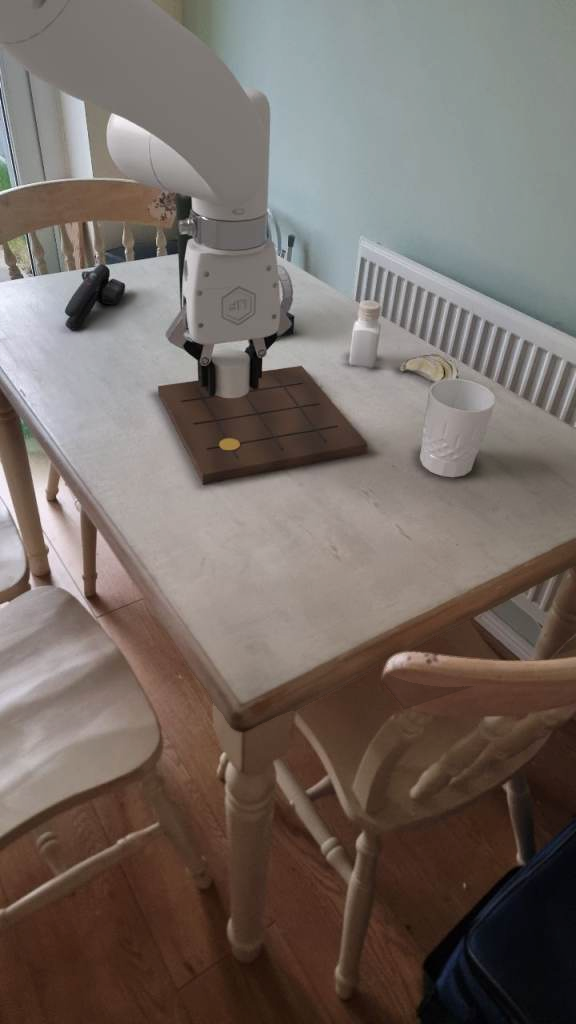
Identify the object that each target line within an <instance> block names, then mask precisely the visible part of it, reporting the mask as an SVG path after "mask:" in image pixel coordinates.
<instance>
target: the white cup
mask: <svg viewBox="0 0 576 1024" xmlns="http://www.w3.org/2000/svg"><path fill="white" fill-rule="evenodd" d="M496 402H497V399H496V396H495V394H494V393H493V392H492V390H491V389H489V388H487V386H484V385H483V384H480V383H478V382H475V381H472V380H468V379H463V378H458V379H444V380H440V381H437V382H435V383H434V382H433V383H432V384H431V386H430V387H429V392H428V398H427V403H426V409H425V411H426V412H425V417H424V421H423V430H422V442H421V449H420V456H419V460H420V462H421V464H422V466H423V467H424V468H425V469H426V470H428V471H429V472H430V473H433V474H435V475H438V476H440V477H446V478H458V477H464V476H466V475H468V474H469V473H470V472H471V471H472V469H473V465H474V463H475V460H476V457H477V455H478V453H479V451H480V448H481V446H482V443H483V440H484V437H485V435H486V433H487V429H488V427H489V423H490V420H491V417H492V414H493V412H494V408H495V406H496Z"/></svg>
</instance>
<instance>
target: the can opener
mask: <svg viewBox="0 0 576 1024" xmlns="http://www.w3.org/2000/svg"><path fill="white" fill-rule="evenodd" d="M110 276H111V270H110V268H109V266H106V265H105V264H99V265H97V266H95V268H94V269H93V270H90V271H89V270H88V271H87V270H85V271H83V270H82V272H81V279H82V282H81V284H80V285H79V286H78V288H77V289H76V291H74V293H73V294H72V296H71V298H70V299H69V301H68V303H67V305H66V307H65V308H64V314H65V315H66V316H68V318H67V320H66V321H65V324H64V325H65V327H66V328H68V329H69V330H77V329H79V328H80V327H81V326H82V325H83V323H84V322H85V321H86V320H87V318H88V317H89V315H90V313H92V311H93V308H94V307H95V306H96V304H97V303H98V301H100V300H101V303H102V304H106V305H107V304H108V305H117V304H118V303H119V302H120V301H121V300H122V298H123V297H124V294H125V291H126V284H125V283H124V282H123V281H120V280H118V279H115V278H110Z"/></svg>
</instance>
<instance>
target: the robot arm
mask: <svg viewBox="0 0 576 1024" xmlns="http://www.w3.org/2000/svg"><path fill="white" fill-rule="evenodd" d="M0 48H1V49H3V50H4V51H5V52H6V53H7V54H8V55H9V56H10V57H11V58H12V59H13V60H14V61H15V62H16V63H18V65H20V66H21V67H22V68H23V69H24V70H25V71H26V72H28V73H30V74H31V75H32V76H34V77H35V78H37V79H39V80H40V81H43V82H44V83H46V84H48V85H49V86H52V87H53V88H55V89H56V90H58V91H61V92H62V93H64V94H66V95H68V96H70V97H73V98H75V99H76V100H79V101H81V102H84V103H87V104H88V105H91V106H94V107H96V108H98V109H102V110H104V111H107V112H110V116H109V119H108V121H107V127H106V134H105V135H106V143H107V144H106V145H107V146H106V147H107V150H108V152H109V155H110V157H111V159H112V161H113V163H114V164H115V166H116V167H117V168H118V170H119V171H121V172H122V174H123V175H125V176H126V177H128V178H129V179H131V180H132V181H134V182H137V183H138V184H141V185H143V186H147V187H150V188H154V189H157V190H161V191H165V192H168V193H173V194H176V193H179V194H183V195H186V196H190V197H192V209H190V215H189V218H186V220H179V223H178V226H179V232H180V234H187V235H191V236H192V237H193V239H190V240H188V242H187V247H186V253H185V261H184V270H183V283H182V309H181V308H180V310H179V312H178V314H177V315H176V317H175V318H174V320H173V321H172V323H171V324H170V326H168V329H167V330H166V331H165V337H166V338H167V341H168V342H169V343H170V344H172V345H173V346H176V347H177V348H179V349H182V350H184V351H185V353H187V354H188V355H190V356H191V357H192V358H193V359H194V360H196V362H197V380H198V381H199V385H200V386H201V387H204V388H205V390H206V392H207V393H208V395H209V396H214V394H216V387H215V365H214V364H213V362H212V358H211V357H212V354H213V353H214V347H215V345H219V344H227V343H234V342H241V341H242V342H243V341H247V342H248V346H247V347H245V349H244V352H246V353H247V354H248V355H249V356H250V387H251V388H252V389H258V387H259V378H262V371H263V358H265V357H266V356H267V355H268V350H269V349H270V348H271V347H272V346H273V345H274V344H275V342H276V341H277V340H278V339H279V338H278V336H279V335H282V334H283V333H284V332H285V331H286V330H287V329H289V328H290V327H291V325H292V323H291V321H290V320H289V318H288V317H287V316H286V314H285V313H284V312H283V310H282V309H281V308H280V299H281V295H280V294H281V293H280V284H279V277H278V266H277V265H278V257H277V253H276V252H277V251H276V246H275V242H273V240H271V239H270V238H268V237H267V236H268V235H267V234H268V209H269V208H268V207H269V205H268V204H269V176H270V175H269V173H270V145H271V142H270V141H271V106H270V102H269V100H268V97H267V96H266V95H265V94H264V92H262V91H260V90H258V89H256V88H253V87H249V86H244V85H241V83H240V82H239V80H238V79H237V78H236V76H235V74H234V73H233V71H232V70H231V69H230V68H229V67H228V65H227V64H226V63H225V62H224V61H223V60H222V58H220V57H219V55H218V54H217V53H216V52H214V50H212V49H211V47H209V45H207V44H206V43H205V42H204V41H202V40H201V38H199V37H198V36H197V35H196V34H194V33H193V32H192V31H190V30H189V29H188V28H186V27H185V26H184V25H183V24H181V23H180V22H179V21H177V20H176V19H175V18H173V17H172V16H171V15H170V14H168V13H167V12H166V11H165V10H164V9H162V8H161V7H160V6H159V5H158V4H156V3H155V2H153V1H152V0H0ZM187 328H189V330H188V332H189V335H190V336H186V335H185V332H186V331H187Z"/></svg>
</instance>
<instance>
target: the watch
mask: <svg viewBox="0 0 576 1024" xmlns="http://www.w3.org/2000/svg"><path fill="white" fill-rule="evenodd" d="M277 266H278V277H279V288H280V291H281V293H280V294H281V295H280V308H281V309H282V310H283V312H284V313H285V314H286V316H287V317H288V318H289V320H290V321H291V323H292V325H291V327H290V328H289V329H287V330H286V331H285V332H284V333H283V334H282V335H279V336H278V338H277V339H279V338H282V337H286V336H291V335H294V331H295V318H296V317H295V315H293V314H292V313H291V312H290V309H291V307H292V304H293V301H294V289H293V283H292V282H293V281H292V279H291V275H290V274H289V272H288V271H287V269H286V268H285V267H284V266H282V265H281V264H277Z"/></svg>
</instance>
